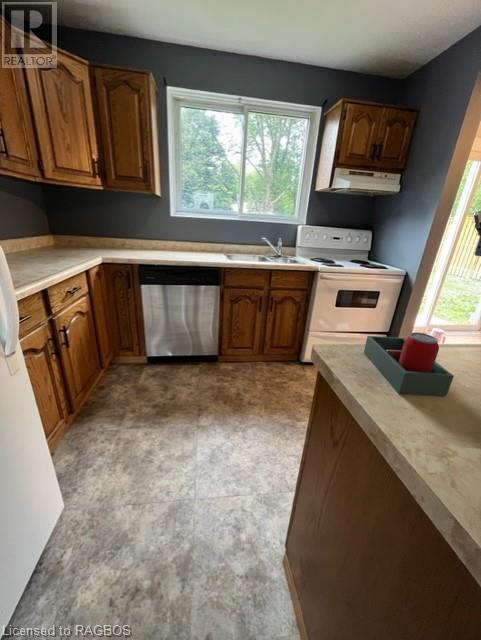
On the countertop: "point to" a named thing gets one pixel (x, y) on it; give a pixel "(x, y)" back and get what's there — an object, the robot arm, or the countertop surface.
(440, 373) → the open rectangular storage bin
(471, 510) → the countertop surface
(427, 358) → the beverage can
